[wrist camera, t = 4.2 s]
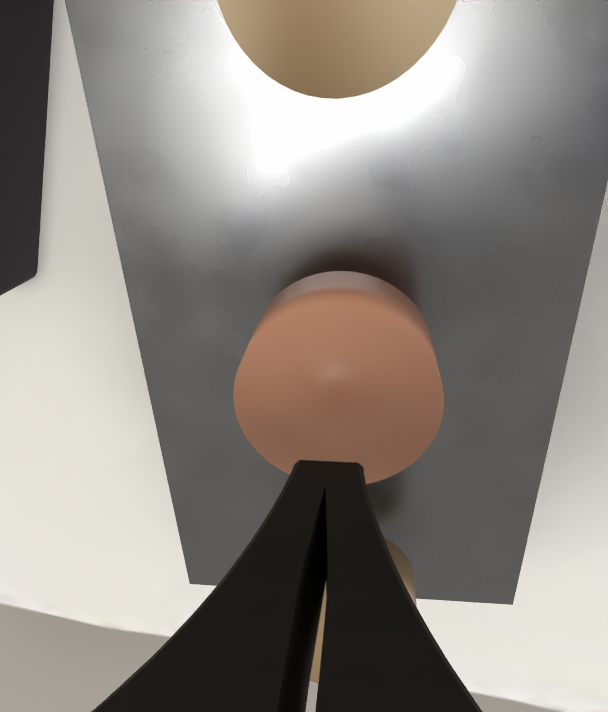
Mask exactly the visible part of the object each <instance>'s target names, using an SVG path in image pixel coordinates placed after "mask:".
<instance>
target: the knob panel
mask: <svg viewBox="0 0 608 712" xmlns="http://www.w3.org/2000/svg"><path fill="white" fill-rule="evenodd" d="M65 3H66V8H67V12H68V17H69V22H70V26H71V31H72V36H73V40H74V45H75V50H76V54H77V59H78V64H79V68H80V73H81V78H82V82H83V87H84V92H85V96H86V101H87V106H88V110H89V115H90V120H91V124H92V129H93V134H94V138H95V143H96V148H97V152H98V157H99V162H100V166H101V171H102V176H103V180H104V185H105V190H106V194H107V199H108V204H109V208H110V213H111V218H112V222H113V227H114V232H115V236H116V241H117V246H118V250H119V255H120V260H121V264H122V269H123V274H124V278H125V283H126V288H127V292H128V297H129V302H130V307H131V311H132V316H133V321H134V325H135V330H136V335H137V339H138V344H139V349H140V353H141V358H142V363H143V367H144V372H145V377H146V381H147V386H148V391H149V395H150V400H151V405H152V409H153V414H154V419H155V423H156V428H157V433H158V437H159V442H160V447H161V451H162V456H163V461H164V465H165V470H166V475H167V479H168V484H169V489H170V493H171V498H172V503H173V507H174V512H175V517H176V521H177V526H178V531H179V535H180V540H181V545H182V549H183V554H184V559H185V563H186V568H187V573H188V577H189V582H190V584H200V585H216V586H217V585H218V584H219V583H220V581H221V580H222V579H223V578H224V576H225V575H226V574H227V573H228V571H229V570H230V569H231V567H232V566H233V565H234V563H235V562H236V560H237V559H238V558H239V556H240V555H241V554H242V552H243V551H244V549H245V548H246V547H247V545H248V544H249V543H250V541H251V540H252V538H253V537H254V535H255V534H256V532H257V531H258V529H259V528H260V526H261V524H262V523H263V521H264V520H265V518H266V517H267V515H268V513H269V512H270V510H271V509H272V507H273V505H274V504H275V502H276V500H277V498H278V497H279V495H280V493H281V491H282V489H283V487H284V486H285V484H286V482H287V480H288V478H289V476H290V475H289V474H287V473H286V472H284V471H282V470H280V469H278V468H277V467H275V466H274V465H273V464H271V463H270V462H268V461H267V460H266V459H265V458H264V457H263V456H261V455H260V454H259V453H258V452H257V451H256V449H255V448H254V447H253V446H252V445H251V443H250V442H249V441H248V439H247V438H246V436H245V435H244V433H243V431H242V429H241V427H240V425H239V422H238V419H237V416H236V413H235V408H234V399H233V389H234V381H235V377H236V373H237V370H238V367H239V365H240V363H241V360H242V358H243V356H244V353H245V351H246V349H247V347H248V344H249V342H250V340H251V337H252V335H253V333H254V330H255V328H256V326H257V324H258V321H259V319H260V317H261V315H262V313H263V312H264V310H265V308H266V307H267V305H268V304H269V303H270V302H271V301H272V300H273V298H274V297H275V296H276V295H278V294H279V293H280V292H281V291H282V290H283V289H285V288H286V287H288V286H289V285H291V284H292V283H294V282H297V281H299V280H301V279H303V278H305V277H308V276H311V275H314V274H319V273H324V272H332V271H350V272H357V273H363V274H367V275H370V276H373V277H377V278H379V279H381V280H383V281H385V282H388V283H389V284H391V285H393V286H394V287H396V288H397V289H399V290H400V291H401V292H403V293H404V294H405V295H406V296H407V297H408V298H409V299H410V300H411V301H412V302H413V303H414V304H415V305H416V306H417V308H418V309H419V311H420V312H421V314H422V315H423V317H424V319H425V322H426V324H427V326H428V329H429V332H430V336H431V339H432V344H433V348H434V352H435V356H436V360H437V365H438V369H439V373H440V377H441V381H442V386H443V393H444V411H443V416H442V421H441V424H440V427H439V430H438V432H437V434H436V436H435V438H434V440H433V442H432V443H431V444H430V446H429V447H428V448H427V450H426V451H425V452H424V453H423V454H422V455H421V456H420V457H419V458H418V459H417V460H416V461H415V462H414V463H412V464H411V465H410V466H409V467H407V468H405V469H404V470H402V471H400V472H399V473H397V474H395V475H393V476H391V477H388V478H386V479H383V480H380V481H377V482H374V483H369V484H366V486H367V491H368V494H369V498H370V501H371V504H372V508H373V511H374V514H375V517H376V519H377V522H378V525H379V527H380V530H381V532H382V535H383V536H384V537H386V538H387V539H389V540H390V541H392V542H393V543H395V544H396V545H397V546H398V547H399V548H400V549H401V550H402V551H403V552H404V553H405V555H406V556H407V558H408V559H409V561H410V563H411V566H412V569H413V575H414V586H415V597H416V598H418V599H433V600H449V601H465V602H480V603H496V604H511V605H513V601H514V596H515V592H516V588H517V583H518V579H519V574H520V570H521V565H522V561H523V556H524V552H525V547H526V543H527V538H528V534H529V529H530V525H531V521H532V516H533V512H534V507H535V503H536V498H537V494H538V489H539V485H540V480H541V476H542V471H543V467H544V462H545V458H546V454H547V449H548V445H549V440H550V436H551V431H552V427H553V422H554V418H555V413H556V409H557V404H558V400H559V395H560V391H561V387H562V382H563V378H564V373H565V369H566V364H567V360H568V355H569V351H570V346H571V342H572V337H573V333H574V328H575V324H576V320H577V315H578V311H579V306H580V302H581V297H582V293H583V288H584V284H585V279H586V275H587V270H588V266H589V261H590V257H591V253H592V248H593V244H594V239H595V235H596V230H597V226H598V221H599V217H600V212H601V208H602V203H603V199H604V194H605V190H606V186H607V181H608V0H457V2H456V5H455V7H454V9H453V11H452V13H451V15H450V17H449V20H448V22H447V24H446V25H445V27H444V28H443V30H442V32H441V33H440V35H439V36H438V38H437V40H436V41H435V42H434V44H433V45H432V46H431V47H430V49H429V50H428V51H427V52H426V53H425V55H424V56H423V57H422V58H421V59H420V60H419V61H418V62H417V63H416V64H415V65H414V66H413V67H412V68H410V69H409V70H408V71H407V72H405V73H404V74H403V75H401V76H400V77H399V78H397V79H396V80H394V81H392V82H391V83H389V84H387V85H385V86H384V87H382V88H379V89H377V90H374V91H372V92H370V93H367V94H363V95H359V96H355V97H349V98H340V99H328V98H318V97H312V96H307V95H304V94H301V93H298V92H295V91H292V90H290V89H288V88H286V87H284V86H282V85H280V84H279V83H277V82H276V81H274V80H273V79H271V78H270V77H268V76H267V75H266V74H264V73H263V72H262V71H261V70H260V69H259V68H258V67H257V66H256V65H255V64H253V62H252V61H251V60H250V59H249V58H248V57H247V55H246V54H245V53H244V52H243V51H242V49H241V48H240V46H239V45H238V43H237V42H236V40H235V39H234V37H233V36H232V34H231V32H230V30H229V28H228V26H227V24H226V22H225V20H224V18H223V15H222V12H221V10H220V7H219V5H218V2H217V0H65Z"/></svg>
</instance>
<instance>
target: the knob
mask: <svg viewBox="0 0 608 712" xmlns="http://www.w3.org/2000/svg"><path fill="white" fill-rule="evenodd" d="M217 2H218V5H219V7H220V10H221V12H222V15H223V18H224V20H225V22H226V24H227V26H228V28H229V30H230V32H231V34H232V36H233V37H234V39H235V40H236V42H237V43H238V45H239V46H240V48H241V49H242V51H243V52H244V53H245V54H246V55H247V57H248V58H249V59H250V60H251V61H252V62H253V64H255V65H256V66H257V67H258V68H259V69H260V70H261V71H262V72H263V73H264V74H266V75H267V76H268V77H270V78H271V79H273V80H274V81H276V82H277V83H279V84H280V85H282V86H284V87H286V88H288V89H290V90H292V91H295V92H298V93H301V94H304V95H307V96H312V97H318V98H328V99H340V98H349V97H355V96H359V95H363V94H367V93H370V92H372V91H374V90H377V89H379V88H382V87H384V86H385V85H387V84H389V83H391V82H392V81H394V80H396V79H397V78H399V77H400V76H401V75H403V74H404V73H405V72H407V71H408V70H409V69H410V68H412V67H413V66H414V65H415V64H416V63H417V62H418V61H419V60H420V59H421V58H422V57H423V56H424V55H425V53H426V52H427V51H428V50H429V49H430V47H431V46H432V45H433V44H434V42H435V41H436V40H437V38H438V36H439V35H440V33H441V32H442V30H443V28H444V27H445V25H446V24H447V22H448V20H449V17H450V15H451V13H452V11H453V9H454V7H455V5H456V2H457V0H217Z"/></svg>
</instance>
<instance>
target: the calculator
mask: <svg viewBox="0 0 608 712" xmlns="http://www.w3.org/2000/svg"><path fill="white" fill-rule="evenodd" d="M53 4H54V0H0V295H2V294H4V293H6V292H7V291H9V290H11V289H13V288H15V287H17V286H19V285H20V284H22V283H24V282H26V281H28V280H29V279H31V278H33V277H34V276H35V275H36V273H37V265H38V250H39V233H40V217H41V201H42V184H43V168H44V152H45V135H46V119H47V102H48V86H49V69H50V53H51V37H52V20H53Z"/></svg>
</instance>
